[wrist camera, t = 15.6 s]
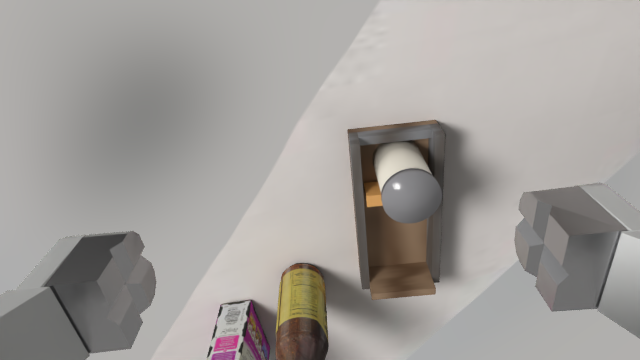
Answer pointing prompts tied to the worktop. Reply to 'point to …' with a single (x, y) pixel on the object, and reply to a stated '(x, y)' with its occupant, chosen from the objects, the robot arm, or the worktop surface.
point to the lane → (387, 234)
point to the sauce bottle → (301, 315)
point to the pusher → (372, 194)
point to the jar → (405, 182)
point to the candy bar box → (238, 334)
